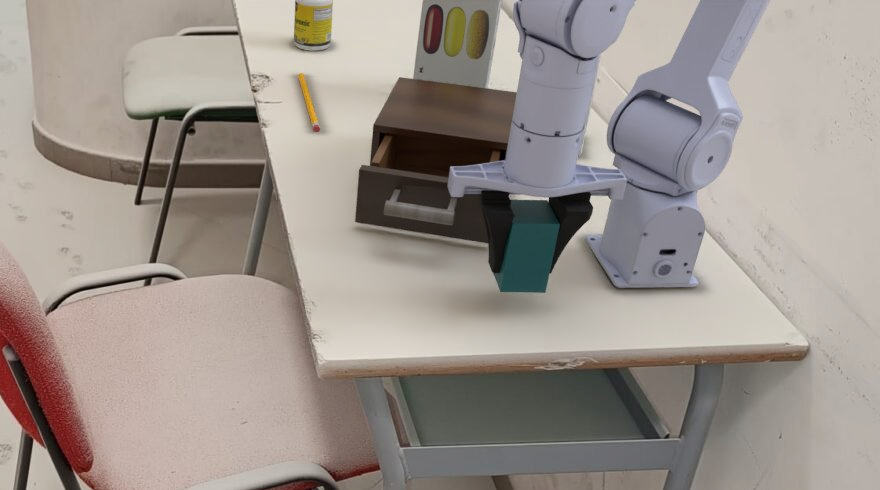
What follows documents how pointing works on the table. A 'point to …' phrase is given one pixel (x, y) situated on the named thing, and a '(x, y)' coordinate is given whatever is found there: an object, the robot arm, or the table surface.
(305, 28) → the supplement bottle
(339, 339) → the table surface
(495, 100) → the cabinet
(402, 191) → the drawer
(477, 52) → the supplement box
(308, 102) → the pencil
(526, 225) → the teal rectangular block
